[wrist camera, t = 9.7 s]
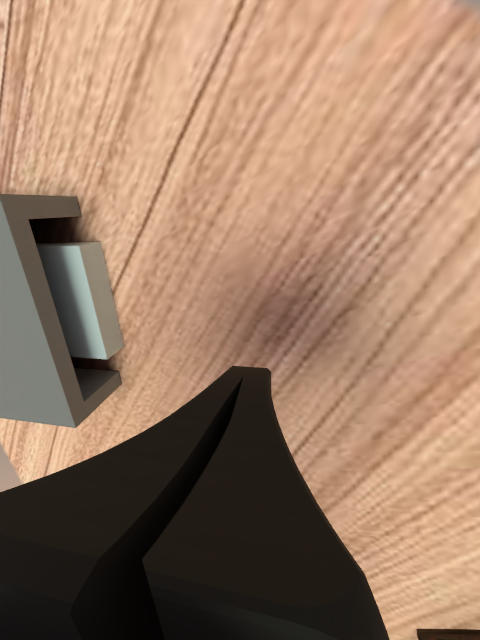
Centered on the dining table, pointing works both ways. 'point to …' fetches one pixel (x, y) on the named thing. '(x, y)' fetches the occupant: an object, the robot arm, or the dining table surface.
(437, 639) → the coffee grinder
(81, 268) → the pale blue thin plate
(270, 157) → the dining table surface
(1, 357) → the overhang shelf
